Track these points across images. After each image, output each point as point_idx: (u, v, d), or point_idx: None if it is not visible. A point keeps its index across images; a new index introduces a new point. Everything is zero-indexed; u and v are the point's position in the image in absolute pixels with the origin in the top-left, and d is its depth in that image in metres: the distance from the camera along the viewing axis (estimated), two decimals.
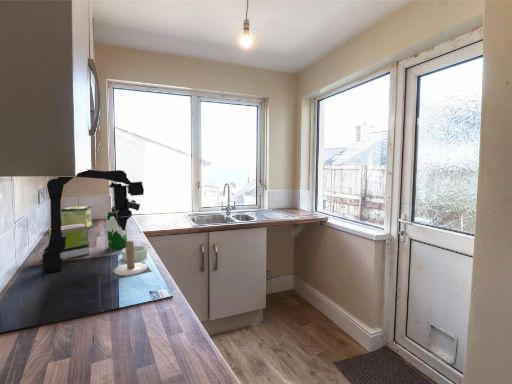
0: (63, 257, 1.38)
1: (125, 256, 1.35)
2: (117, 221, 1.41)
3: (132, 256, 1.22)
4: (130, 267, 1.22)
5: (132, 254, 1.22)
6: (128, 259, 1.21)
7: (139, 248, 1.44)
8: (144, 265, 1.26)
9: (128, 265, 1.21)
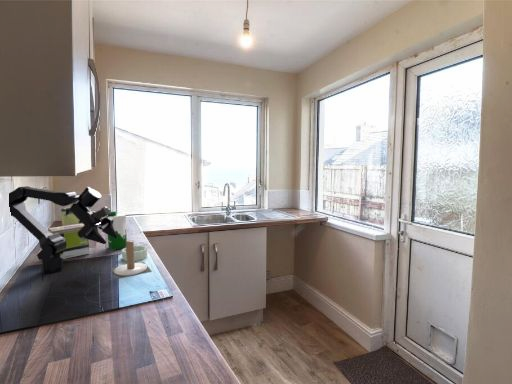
0: (63, 257, 1.38)
1: (125, 256, 1.35)
2: (110, 234, 1.27)
3: (132, 256, 1.22)
4: (130, 267, 1.22)
5: (132, 254, 1.22)
6: (128, 259, 1.21)
7: (139, 248, 1.44)
8: (144, 265, 1.26)
9: (128, 265, 1.21)
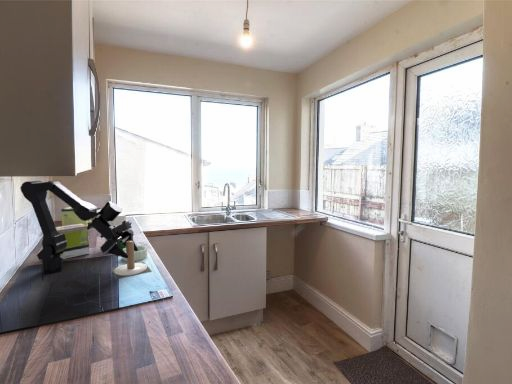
0: (63, 257, 1.38)
1: None
2: None
3: (132, 256, 1.22)
4: (130, 267, 1.22)
5: (132, 254, 1.22)
6: (128, 259, 1.21)
7: (139, 248, 1.44)
8: (144, 265, 1.26)
9: (128, 265, 1.21)
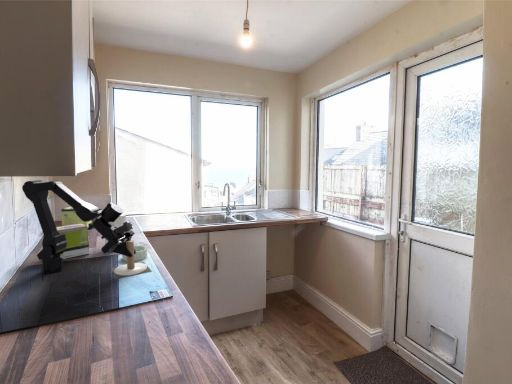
0: (63, 257, 1.38)
1: (125, 256, 1.35)
2: None
3: (132, 256, 1.22)
4: (130, 267, 1.22)
5: (132, 254, 1.22)
6: (128, 259, 1.21)
7: (139, 248, 1.44)
8: (144, 265, 1.26)
9: (128, 265, 1.21)
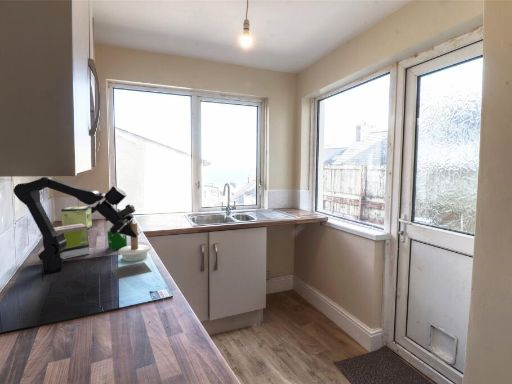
0: (63, 257, 1.38)
1: (125, 256, 1.35)
2: None
3: (136, 237, 1.28)
4: (134, 248, 1.28)
5: None
6: (132, 240, 1.27)
7: None
8: (146, 246, 1.33)
9: (132, 245, 1.28)
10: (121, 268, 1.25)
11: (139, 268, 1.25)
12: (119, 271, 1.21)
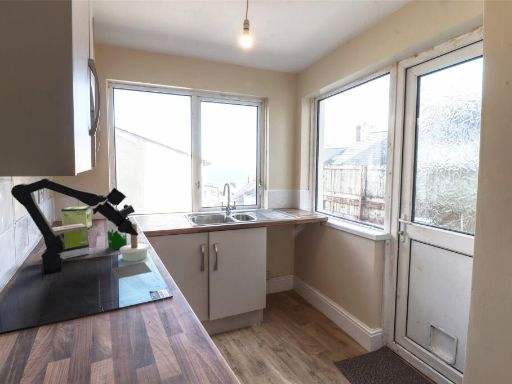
0: (63, 257, 1.38)
1: (125, 256, 1.35)
2: None
3: (136, 236, 1.39)
4: (135, 246, 1.38)
5: None
6: (133, 239, 1.38)
7: None
8: (143, 244, 1.44)
9: (133, 244, 1.38)
10: (121, 268, 1.25)
11: (139, 268, 1.25)
12: (119, 271, 1.21)
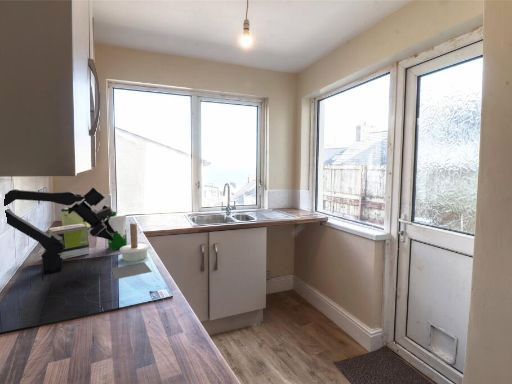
0: (63, 257, 1.38)
1: (125, 256, 1.35)
2: (107, 230, 1.37)
3: (136, 236, 1.39)
4: (135, 246, 1.38)
5: (136, 234, 1.39)
6: (133, 239, 1.38)
7: None
8: (143, 244, 1.44)
9: (133, 244, 1.38)
10: (121, 268, 1.25)
11: (139, 268, 1.25)
12: (119, 271, 1.21)
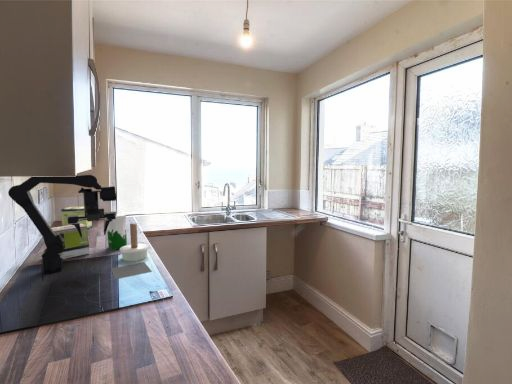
0: (63, 257, 1.38)
1: (125, 256, 1.35)
2: None
3: (136, 236, 1.39)
4: (135, 246, 1.38)
5: (136, 234, 1.39)
6: (133, 239, 1.38)
7: None
8: (143, 244, 1.44)
9: (133, 244, 1.38)
10: (121, 268, 1.25)
11: (139, 268, 1.25)
12: (119, 271, 1.21)
